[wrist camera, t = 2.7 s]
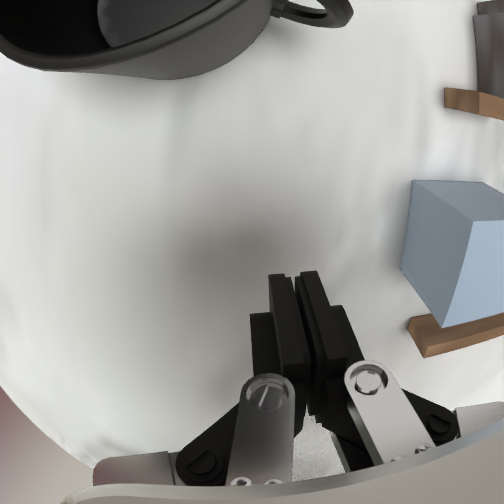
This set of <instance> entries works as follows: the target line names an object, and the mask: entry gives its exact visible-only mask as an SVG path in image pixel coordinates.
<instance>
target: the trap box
mask: <svg viewBox="0 0 504 504" xmlns="http://www.w3.org/2000/svg"><path fill="white" fill-rule="evenodd" d="M477 6H478V13H479V15H478V16H473V21H474V30H475V39H476V52H477V70H478V91H471V90H463V89H454V88H445V108H451V109H456V110H460V111H465V112H470V113H474V114H478V115H483V116H487V117H491V118H496V119H500V120H503V121H504V0H491V1H485V2H480V3H477ZM407 330H408V331H409V333H410V335H411V337H412V338H413V340H414V342H415V344H416V346H417V347H418V349H419V351H420V353H421V355H422V357H423V358H427V357H431V356H435V355H439V354H443V353H446V352H450V351H454V350H457V349H461V348H464V347H468V346H471V345H474V344H477V343H481V342H484V341H487V340H490V339H493V338H496V337H499V336H502V335H504V312H503V313H499V314H496V315H492V316H489V317H485V318H481V319H477V320H474V321H470V322H466V323H462V324H458V325H454V326H449V327H445V328H441V326H440V325H439V323H438V322H437V320H436V319H435V318H434V316H433V315H432V314H428V315H423V316H418V317H412V318H411V319H410V323H409V326H408V329H407Z"/></svg>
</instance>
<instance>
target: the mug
mask: <svg viewBox="0 0 504 504" xmlns="http://www.w3.org/2000/svg"><path fill="white" fill-rule="evenodd" d="M317 1H318V2H319V3H320V4H322V5H323V6H324V8H325V9H314V8H310V7H305V6H302V5H298V4H295V3H292V2H289V1H288V0H0V52H1V53H2V54H4V55H5V56H6V57H7V58H9V59H11V60H13V61H15V62H17V63H19V64H21V65H24V66H27V67H30V68H35V69H39V70H43V71H57V72H82V73H100V74H112V75H123V76H133V77H141V78H149V79H161V80H172V79H181V78H187V77H191V76H196V75H200V74H203V73H205V72H208V71H211V70H213V69H215V68H218V67H220V66H222V65H223V64H225V63H227V62H229V61H231V60H232V59H234V58H235V57H236V56H238V55H239V54H241V53H242V52H243V51H244V50H245V49H247V48H248V47H249V46H250V45H251V44H252V43H253V42H254V41H255V40H256V38H257V37H258V36H259V35H260V33H261V32H262V31H263V29H264V27H265V26H266V24H267V22H268V21H269V19H270V16H274V17H276V18H280V17H283V18H286V19H289V20H292V21H295V22H298V23H302V24H306V25H310V26H316V27H325V28H340V27H344V26H346V24H347V23H348V22H349V20H350V19H351V17H352V16H353V8H352V6H351V4H350V2H349V1H348V0H317Z"/></svg>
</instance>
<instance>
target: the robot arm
mask: <svg viewBox="0 0 504 504" xmlns="http://www.w3.org/2000/svg"><path fill="white" fill-rule="evenodd" d="M268 279H269V303H270V312H267V313H254V314H250V325H251V342H252V358H253V373H254V377H252V378H251V379H249V380H248V381H247V382H246V383H245V384H244V386H243V388H242V391H241V395H240V401H239V403H238V404H237V405H236V406H234V407H233V408H232V409H231V410H230V411H229V412H227V413H226V414H225V415H224V416H223V417H221V418H220V419H219V420H218V421H217V422H215V423H214V424H213V425H212V426H211V427H209V428H208V429H207V430H206V431H204V432H203V433H202V434H201V435H199V436H198V437H197V438H196V439H194V440H193V441H192V442H191V443H189V444H188V445H187V446H185V447H184V448H183V449H182V450H181V451H180V452H174V453H169V452H168V451H164V452H157V453H149V454H141V455H132V456H122V457H110V458H106V459H103V460H101V461H100V462H99V463H97V465H96V466H95V468H94V471H93V487H89V488H84V489H81V490H79V491H76V492H73V493H72V494H69V495H68V496H67V497H65V499H64V500H63V501H62V502H61V503H60V504H504V402H493V403H487V404H480V405H474V406H466V407H459V408H455V410H454V411H450V410H448V409H446V408H445V407H442V406H440V405H438V404H435V403H433V402H431V401H428V400H426V399H424V398H422V397H419V396H417V395H415V394H413V393H410V392H408V391H406V390H404V389H402V388H400V386H399V384H398V383H397V381H396V380H395V378H394V376H393V375H392V373H391V372H390V371H389V369H388V368H387V367H386V366H384V365H383V364H381V363H379V362H376V361H369V360H364V357H363V355H362V352H361V350H360V347H359V345H358V342H357V340H356V337H355V335H354V332H353V330H352V327H351V325H350V322H349V320H348V317H347V315H346V312H345V310H344V308H343V306H342V305H336V306H330V304H329V301H328V299H327V296H326V293H325V291H324V288H323V285H322V283H321V280H320V278H319V275H318V273H317V271H307V272H301V273H300V276H297V277H295V291H294V288H293V284H292V280H291V277H286V278H285V274H272V275H268ZM306 404H307V408H308V413H309V416H312V415H315V420H316V423H321V424H322V427H324V428H326V429H327V430H329V431H330V434H331V438H332V440H333V443H334V445H335V448H336V450H337V453H338V455H339V457H340V460H341V462H342V465H343V467H344V470H345V472H346V473H344V474H339V475H334V476H328V477H323V478H316V479H310V480H303V481H295V482H292V463H293V441H294V438H295V437H296V436H297V434H298V433H299V432H300V431H301V430H302V427H303V420H304V417H305V412H306Z"/></svg>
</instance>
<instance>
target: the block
mask: <svg viewBox="0 0 504 504" xmlns="http://www.w3.org/2000/svg"><path fill="white" fill-rule="evenodd" d="M400 270H401V272H402V273H403V274H404V276H405V277H406V278H407V280H408V281H409V282H410V284H411V285H412V286H413V288H414V289H415V290H416V292H417V293H418V295H419V296H420V297H421V299H422V300H423V302H424V303H425V305H426V306H427V307H428V309H429V310H430V312H431V313H432V315H433V316H434V318H435V319H436V320H437V322H438V323H439V325H440V326H441V328H445V327H449V326H454V325H458V324H462V323H466V322H470V321H474V320H477V319H481V318H485V317H489V316H492V315H496V314H499V313H503V312H504V194H503V193H501V192H499V191H498V190H496V189H494V188H492V187H491V186H489V185H487V184H485V183H483V182H467V181H441V180H412V190H411V199H410V207H409V215H408V222H407V229H406V235H405V242H404V248H403V253H402V259H401V264H400Z"/></svg>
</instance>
